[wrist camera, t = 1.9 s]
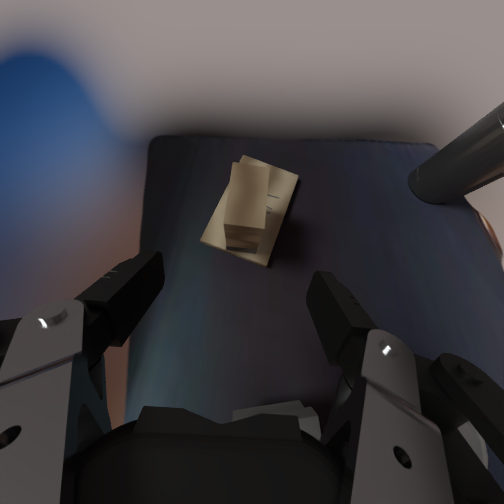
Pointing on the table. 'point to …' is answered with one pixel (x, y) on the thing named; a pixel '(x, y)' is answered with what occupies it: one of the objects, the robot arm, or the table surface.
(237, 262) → the table surface
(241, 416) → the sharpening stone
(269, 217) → the board
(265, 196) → the block
